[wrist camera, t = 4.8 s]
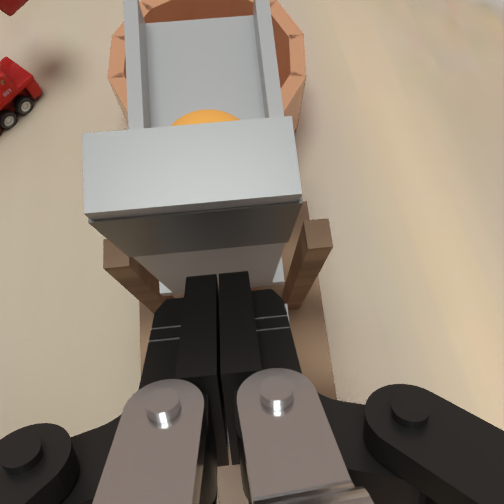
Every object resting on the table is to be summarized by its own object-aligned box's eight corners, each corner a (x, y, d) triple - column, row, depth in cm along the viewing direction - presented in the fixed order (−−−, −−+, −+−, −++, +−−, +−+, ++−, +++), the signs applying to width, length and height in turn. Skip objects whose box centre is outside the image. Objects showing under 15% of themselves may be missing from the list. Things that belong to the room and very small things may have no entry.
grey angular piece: (308, 424, 20) (419, 543, 7) (166, 439, 19) (15, 591, 7) (263, 56, 24) (282, -285, 11) (146, 65, 24) (31, -272, 11)
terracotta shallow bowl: (101, 140, 35) (69, 86, 29) (188, 26, 39) (176, -44, 33) (245, 215, 33) (244, 174, 27) (323, 88, 37) (337, 26, 31)
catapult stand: (333, 407, 29) (403, 413, 16) (147, 427, 29) (58, 451, 15) (304, 209, 33) (339, 83, 20) (142, 224, 33) (69, 106, 20)
